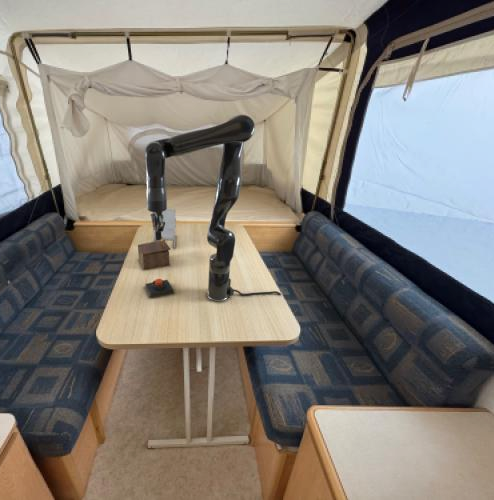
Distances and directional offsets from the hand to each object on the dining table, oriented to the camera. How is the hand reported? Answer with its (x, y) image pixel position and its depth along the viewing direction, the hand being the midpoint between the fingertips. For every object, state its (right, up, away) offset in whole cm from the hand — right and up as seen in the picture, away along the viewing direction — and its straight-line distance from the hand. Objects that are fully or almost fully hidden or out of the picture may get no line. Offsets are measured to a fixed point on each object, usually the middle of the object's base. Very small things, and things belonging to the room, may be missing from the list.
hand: (158, 239), depth 109 cm
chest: (-8, -12, +43) cm, 45 cm away
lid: (-7, -3, +39) cm, 40 cm away
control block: (-2, -24, +18) cm, 30 cm away
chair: (-3, +1, +70) cm, 70 cm away
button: (-2, -20, +16) cm, 26 cm away
